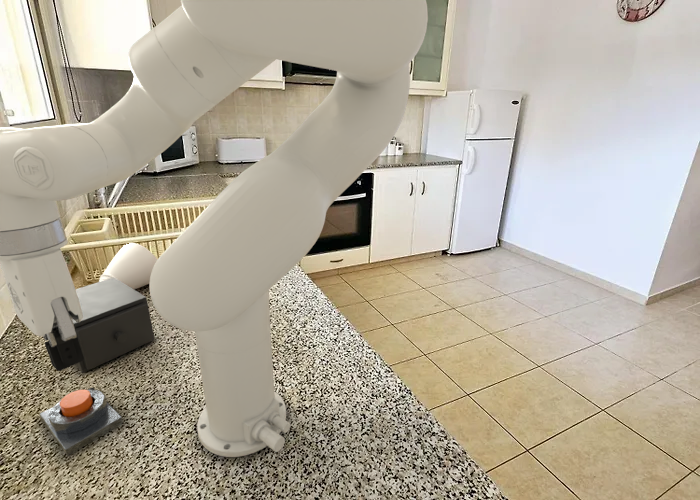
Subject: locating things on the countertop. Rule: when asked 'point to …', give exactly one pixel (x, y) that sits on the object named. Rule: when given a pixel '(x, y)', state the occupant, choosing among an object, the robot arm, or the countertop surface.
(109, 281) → the grey drawer box
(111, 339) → the dark grey drawer
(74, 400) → the button
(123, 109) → the robot arm
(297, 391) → the countertop surface
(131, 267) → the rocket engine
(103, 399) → the control block
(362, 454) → the countertop surface
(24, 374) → the countertop surface
